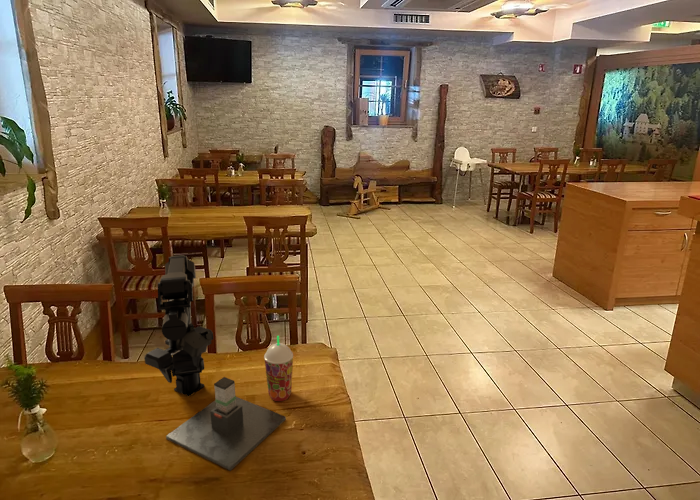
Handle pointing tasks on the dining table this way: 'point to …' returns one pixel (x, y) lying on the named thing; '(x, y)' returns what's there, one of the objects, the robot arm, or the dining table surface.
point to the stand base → (226, 432)
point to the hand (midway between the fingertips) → (183, 374)
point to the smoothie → (279, 371)
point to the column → (225, 396)
